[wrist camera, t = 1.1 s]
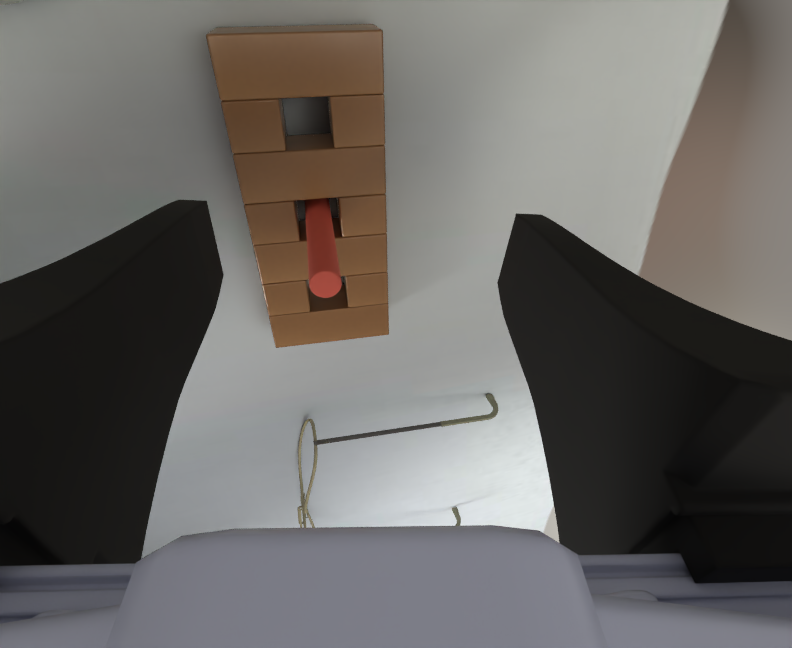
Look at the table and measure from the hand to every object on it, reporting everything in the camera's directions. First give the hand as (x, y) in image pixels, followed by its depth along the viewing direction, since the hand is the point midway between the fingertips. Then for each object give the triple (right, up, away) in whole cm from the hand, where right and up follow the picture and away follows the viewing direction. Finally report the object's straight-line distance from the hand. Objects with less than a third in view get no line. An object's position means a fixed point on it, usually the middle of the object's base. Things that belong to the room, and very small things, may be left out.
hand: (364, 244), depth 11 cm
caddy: (-3, +4, +12) cm, 13 cm away
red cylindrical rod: (-3, +4, +12) cm, 13 cm away
